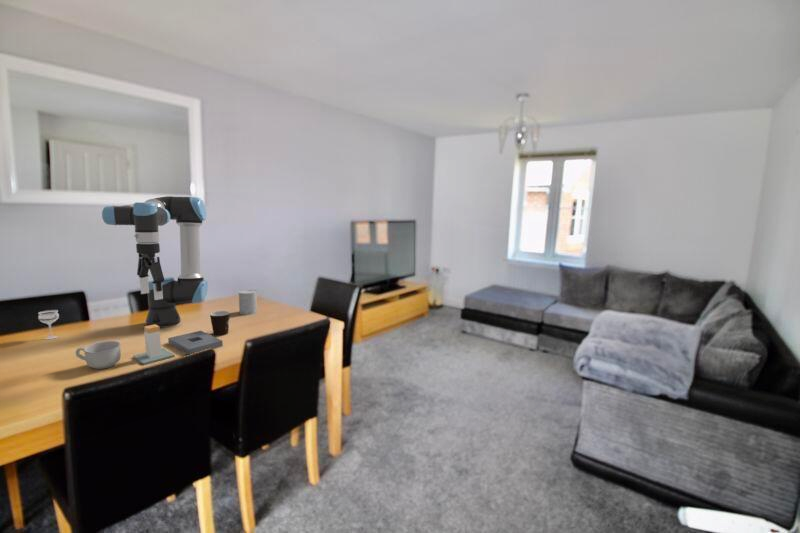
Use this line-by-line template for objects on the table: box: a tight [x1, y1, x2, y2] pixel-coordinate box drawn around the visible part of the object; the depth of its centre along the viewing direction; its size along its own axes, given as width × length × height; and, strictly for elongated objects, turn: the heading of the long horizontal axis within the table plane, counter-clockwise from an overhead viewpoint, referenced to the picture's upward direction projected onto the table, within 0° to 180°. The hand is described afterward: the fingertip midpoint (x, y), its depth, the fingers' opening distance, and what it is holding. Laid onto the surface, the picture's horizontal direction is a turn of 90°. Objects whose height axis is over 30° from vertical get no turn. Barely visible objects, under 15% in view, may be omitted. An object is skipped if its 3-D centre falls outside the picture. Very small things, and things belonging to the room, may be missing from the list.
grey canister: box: [238, 289, 258, 316], centre depth 217 cm, size 10×10×12 cm
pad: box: [132, 347, 176, 366], centre depth 151 cm, size 11×11×1 cm
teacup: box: [75, 340, 122, 370], centre depth 142 cm, size 14×11×8 cm
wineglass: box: [37, 309, 60, 340], centre depth 168 cm, size 7×7×12 cm
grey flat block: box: [167, 330, 224, 356], centre depth 166 cm, size 20×14×2 cm
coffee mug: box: [209, 310, 231, 337], centre depth 182 cm, size 12×9×10 cm
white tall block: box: [143, 324, 162, 358], centre depth 151 cm, size 4×4×12 cm
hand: (151, 296), depth 149 cm, fingers open, 13 cm apart
